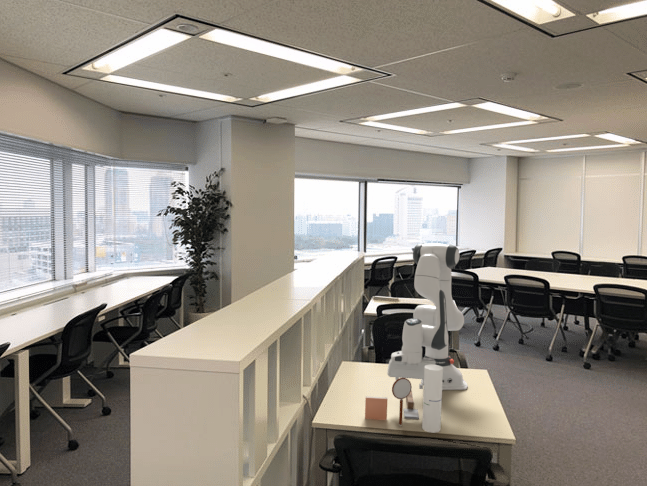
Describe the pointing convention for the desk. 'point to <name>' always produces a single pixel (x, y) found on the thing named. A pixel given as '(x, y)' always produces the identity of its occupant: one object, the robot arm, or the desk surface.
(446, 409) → the desk surface
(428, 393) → the cylindrical container
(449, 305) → the robot arm
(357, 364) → the desk surface
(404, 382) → the magnifying glass
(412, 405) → the turner
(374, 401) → the glazed tile
